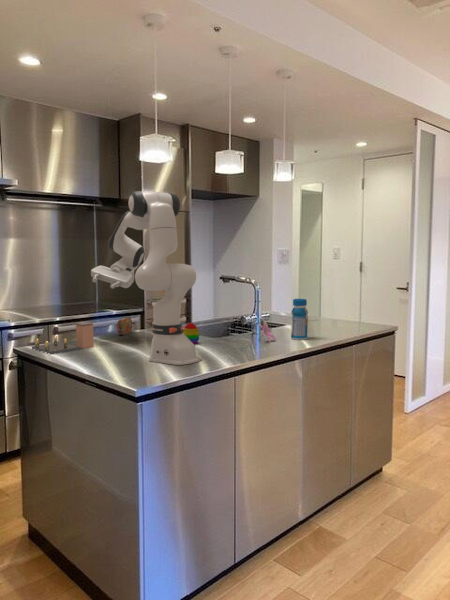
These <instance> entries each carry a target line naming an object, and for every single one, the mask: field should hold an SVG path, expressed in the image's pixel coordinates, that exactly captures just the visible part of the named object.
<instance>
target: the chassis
mask: <svg viewBox="0 0 450 600" xmlns="http://www.w3.org/2000/svg"><path fill="white" fill-rule="evenodd" d="M39 339H40V338H35V345H33V346H31V349H32V350H33V349H36V350H35V351H37V350H40V351H44V352H47V353H46V354H48V353H50V354H49V355H55V354H54V353H56V354H61V353H60V352H62V353H68V352H73V350H74V351H79V349H81V348H80V347H78V346H77V345H74V344H69V343H68V338H67V337H66V338H63V342H61V341H58V335H54V336H53V343H50V342H49V341H48V340H46V341H44V342H45V343H44V344H40V340H39ZM40 351H39V352H40ZM67 351H68V352H67ZM44 352H43V353H44Z"/></svg>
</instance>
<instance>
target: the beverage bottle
mask: <svg viewBox="0 0 450 600" xmlns="http://www.w3.org/2000/svg"><path fill="white" fill-rule="evenodd" d="M307 302H308V301H307V299H306V298H293V299H292V306H293V308H292V310H291V317H290V320H291V332H290V333H291V334H290V337H291V339H292V340H295V341H296V340H297V341H298V340H299V341H305V340H307V339H308V335H309V334H308V326H309V325H308V321H309V316H308V314H309V311H308V309H307V304H308V303H307Z"/></svg>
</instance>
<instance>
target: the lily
mask: <svg viewBox="0 0 450 600" xmlns="http://www.w3.org/2000/svg"><path fill="white" fill-rule="evenodd" d="M258 326H259V327H260V328H261V330H262V331H261V336H260V337H259V339H258V341H260V340H261V338H262V337H263V336H265V337H266V338H267V340H268V342H269V343H271V340H274V341H275V342H277V341H278V340H277V338H276V336H275V335H274V334H273V330H272V328H269V325H268V323H267V322H266V320H263V325H262V324H261V323H258Z"/></svg>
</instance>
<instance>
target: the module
mask: <svg viewBox="0 0 450 600" xmlns="http://www.w3.org/2000/svg"><path fill="white" fill-rule="evenodd" d="M75 328H76V329H75V330H76V346H78V347H80V349H83V350H84V349H89V348H94V347H95V342H94V341H95V338H94V337H95V336H94V323H92V322H88V321H85V322H76V324H75Z"/></svg>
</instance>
